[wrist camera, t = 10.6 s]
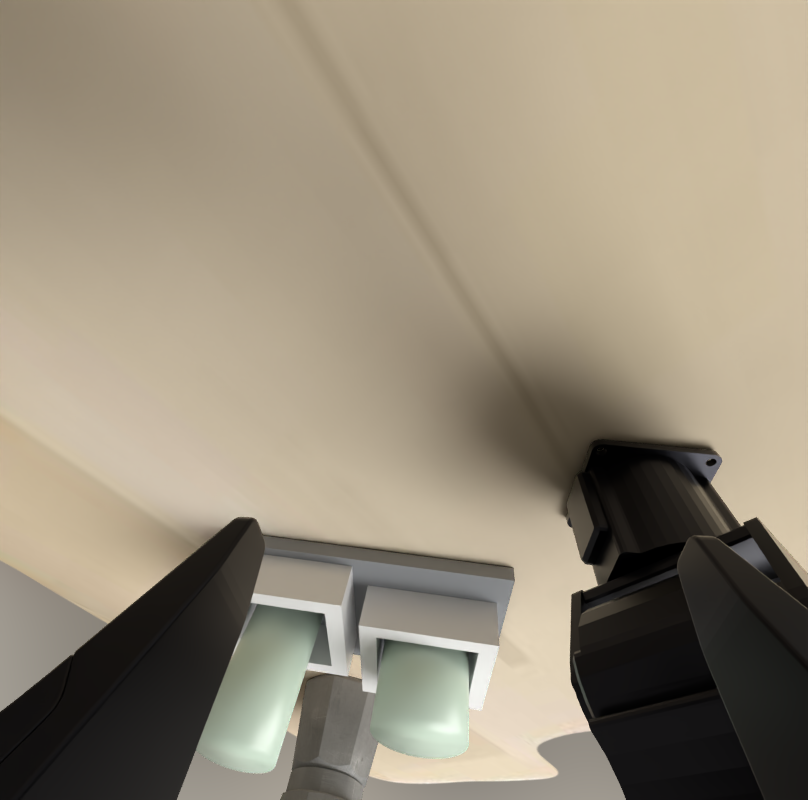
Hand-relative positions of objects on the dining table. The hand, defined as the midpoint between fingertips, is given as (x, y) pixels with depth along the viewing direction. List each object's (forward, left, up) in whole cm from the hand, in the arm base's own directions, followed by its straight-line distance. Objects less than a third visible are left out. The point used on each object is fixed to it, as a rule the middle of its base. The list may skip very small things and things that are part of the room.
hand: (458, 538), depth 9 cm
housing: (+5, +24, -13) cm, 28 cm away
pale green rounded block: (+11, +23, -12) cm, 28 cm away
